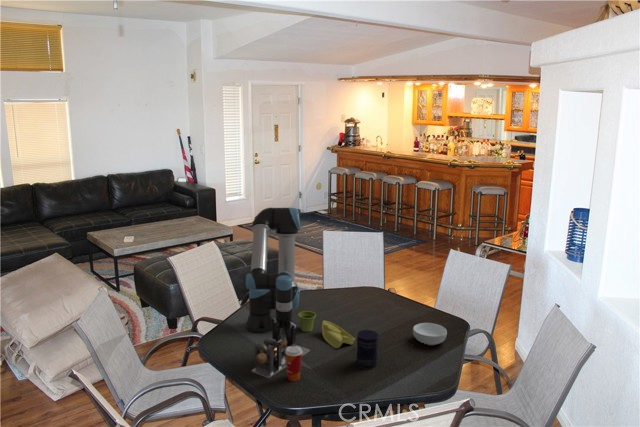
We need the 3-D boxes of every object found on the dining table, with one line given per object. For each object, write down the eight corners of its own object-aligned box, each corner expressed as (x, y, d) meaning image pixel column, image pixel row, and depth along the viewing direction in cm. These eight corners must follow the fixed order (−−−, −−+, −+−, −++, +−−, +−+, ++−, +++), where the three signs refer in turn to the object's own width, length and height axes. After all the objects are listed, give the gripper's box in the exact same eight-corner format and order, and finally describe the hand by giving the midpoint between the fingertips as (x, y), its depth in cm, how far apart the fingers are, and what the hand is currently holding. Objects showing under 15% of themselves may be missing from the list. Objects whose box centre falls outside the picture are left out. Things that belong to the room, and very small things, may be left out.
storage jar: (371, 371, 253) (372, 341, 250) (352, 365, 258) (353, 335, 255) (380, 362, 261) (382, 333, 258) (362, 356, 266) (363, 328, 263)
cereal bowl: (449, 338, 287) (450, 326, 286) (441, 352, 272) (442, 339, 271) (417, 332, 294) (418, 319, 293) (408, 345, 279) (409, 332, 278)
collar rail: (293, 345, 276) (293, 320, 273) (309, 350, 271) (310, 325, 268) (251, 371, 250) (251, 344, 247) (268, 378, 245) (268, 350, 242)
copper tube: (283, 345, 264) (283, 337, 263) (290, 348, 262) (290, 339, 261) (256, 362, 248) (256, 353, 247) (264, 365, 245) (264, 356, 244)
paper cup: (284, 373, 249) (284, 345, 246) (301, 373, 250) (302, 344, 247) (285, 383, 242) (285, 353, 238) (302, 382, 242) (302, 353, 239)
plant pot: (318, 327, 297) (318, 312, 295) (312, 334, 289) (312, 319, 287) (301, 324, 300) (302, 309, 298) (295, 331, 292) (295, 316, 290)
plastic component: (357, 340, 279) (343, 336, 273) (350, 353, 279) (336, 349, 273) (334, 323, 294) (321, 319, 288) (328, 335, 295) (315, 332, 288)
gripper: (264, 307, 258) (264, 353, 263) (294, 316, 248) (294, 363, 254) (274, 302, 264) (274, 347, 269) (304, 310, 255) (303, 357, 260)
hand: (283, 354), depth 261 cm, fingers closed on copper tube, 4 cm apart
